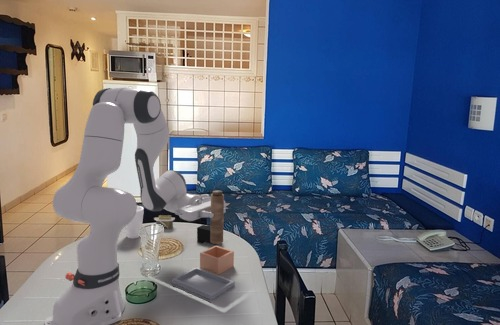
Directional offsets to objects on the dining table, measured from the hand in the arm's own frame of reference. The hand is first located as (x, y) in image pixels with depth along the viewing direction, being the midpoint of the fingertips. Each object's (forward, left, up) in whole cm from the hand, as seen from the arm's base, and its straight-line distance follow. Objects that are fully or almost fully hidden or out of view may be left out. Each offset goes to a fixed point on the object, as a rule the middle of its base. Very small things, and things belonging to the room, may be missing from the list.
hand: (218, 213), depth 144 cm
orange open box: (0, +1, -22) cm, 22 cm away
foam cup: (+2, +53, -23) cm, 58 cm away
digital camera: (+18, +20, -23) cm, 36 cm away
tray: (-13, -4, -22) cm, 26 cm away
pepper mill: (0, +1, -11) cm, 11 cm away
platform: (+18, +50, -23) cm, 58 cm away
